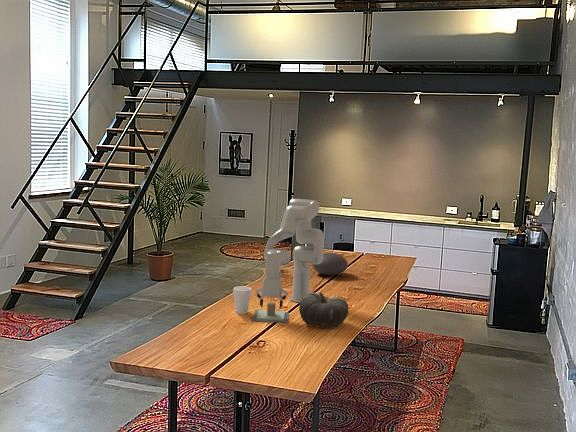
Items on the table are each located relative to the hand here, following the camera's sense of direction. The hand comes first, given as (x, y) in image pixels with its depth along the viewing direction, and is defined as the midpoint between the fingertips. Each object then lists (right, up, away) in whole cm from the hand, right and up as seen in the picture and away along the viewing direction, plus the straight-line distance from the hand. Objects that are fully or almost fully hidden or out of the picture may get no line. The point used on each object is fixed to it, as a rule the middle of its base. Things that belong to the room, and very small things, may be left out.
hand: (271, 307), depth 330 cm
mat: (0, -5, +1) cm, 5 cm away
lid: (0, -5, +1) cm, 5 cm away
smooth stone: (+37, +7, +105) cm, 112 cm away
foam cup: (-16, -4, +7) cm, 18 cm away
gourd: (+27, -8, -8) cm, 29 cm away
